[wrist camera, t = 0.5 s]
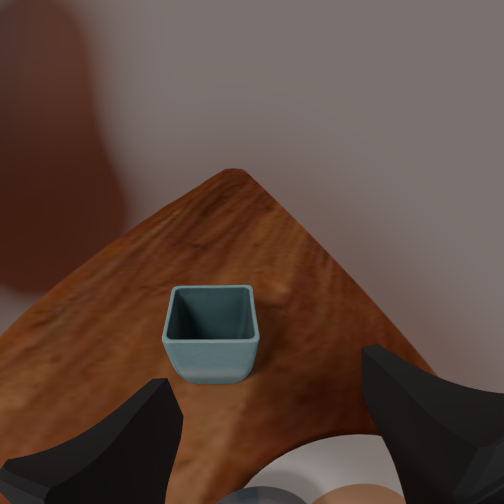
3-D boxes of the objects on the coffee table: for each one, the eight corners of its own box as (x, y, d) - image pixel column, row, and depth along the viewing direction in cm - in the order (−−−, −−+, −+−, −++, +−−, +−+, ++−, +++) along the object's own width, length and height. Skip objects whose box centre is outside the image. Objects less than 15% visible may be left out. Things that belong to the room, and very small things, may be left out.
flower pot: (250, 340, 38) (252, 283, 33) (257, 396, 30) (260, 340, 26) (182, 341, 37) (172, 285, 33) (176, 397, 29) (160, 342, 25)
